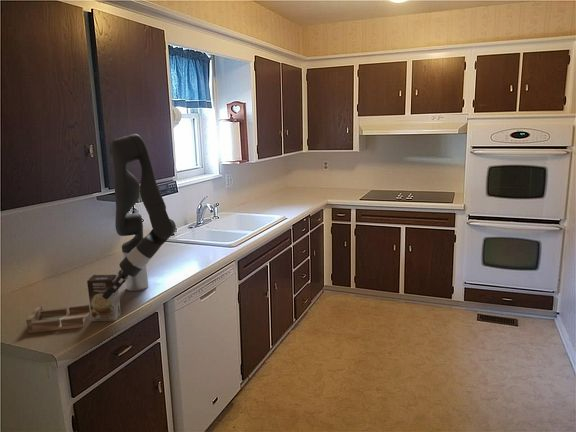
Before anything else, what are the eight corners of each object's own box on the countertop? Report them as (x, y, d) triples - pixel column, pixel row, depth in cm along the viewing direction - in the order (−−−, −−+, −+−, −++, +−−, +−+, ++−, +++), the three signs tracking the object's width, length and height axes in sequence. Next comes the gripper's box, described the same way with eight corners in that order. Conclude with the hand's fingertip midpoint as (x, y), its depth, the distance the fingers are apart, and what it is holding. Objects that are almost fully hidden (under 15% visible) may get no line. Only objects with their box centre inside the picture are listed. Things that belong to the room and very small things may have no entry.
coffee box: (91, 321, 163) (85, 280, 159) (97, 314, 169) (92, 274, 165) (116, 320, 163) (111, 279, 159) (121, 313, 169) (117, 273, 166)
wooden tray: (39, 318, 166) (37, 306, 165) (90, 313, 170) (88, 300, 169) (28, 333, 155) (26, 320, 154) (83, 326, 159) (81, 314, 158)
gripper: (129, 249, 169) (101, 280, 170) (124, 260, 156) (94, 294, 156) (145, 261, 172) (117, 292, 172) (141, 273, 158) (111, 307, 158)
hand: (106, 293), depth 164 cm, fingers open, 8 cm apart
